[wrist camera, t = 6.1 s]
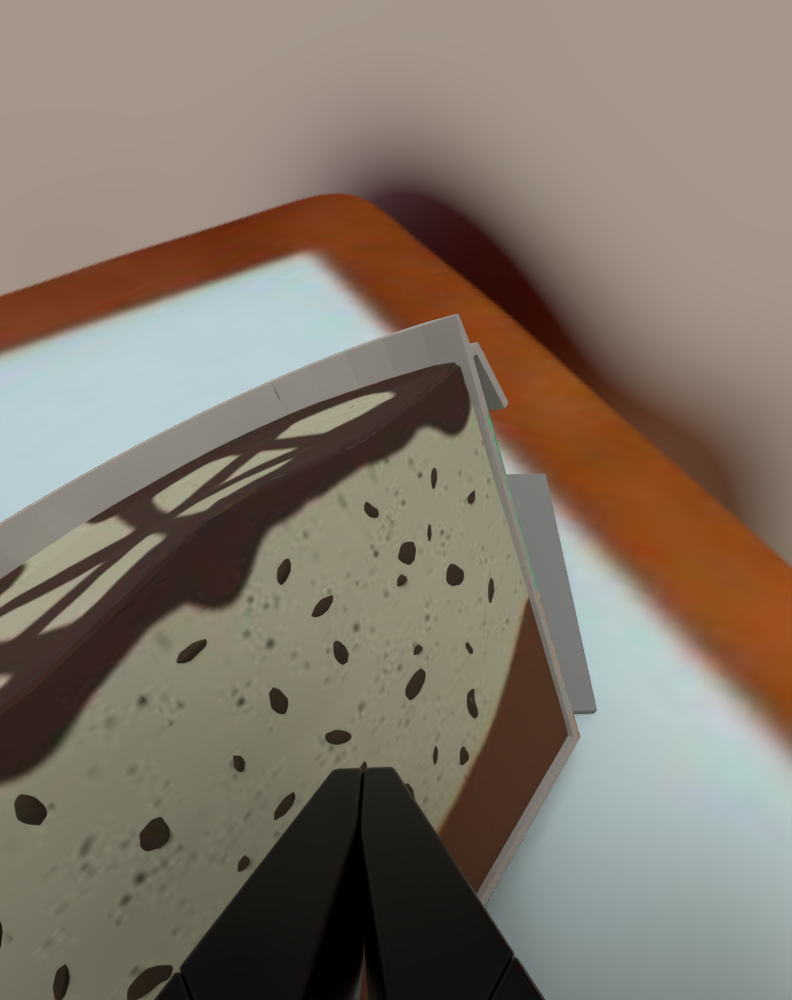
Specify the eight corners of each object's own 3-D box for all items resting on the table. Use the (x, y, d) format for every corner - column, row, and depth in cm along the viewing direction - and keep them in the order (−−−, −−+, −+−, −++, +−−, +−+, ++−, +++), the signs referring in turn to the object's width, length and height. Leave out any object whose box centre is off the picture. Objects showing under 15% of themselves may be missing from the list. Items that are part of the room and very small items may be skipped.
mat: (593, 713, 16) (596, 710, 16) (157, 728, 16) (153, 726, 16) (543, 478, 21) (545, 473, 20) (201, 488, 20) (199, 483, 20)
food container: (427, 641, 19) (288, 355, 15) (606, 690, 15) (474, 302, 11) (76, 1049, 12) (-350, 712, 8) (215, 1385, 8) (-584, 991, 4)
